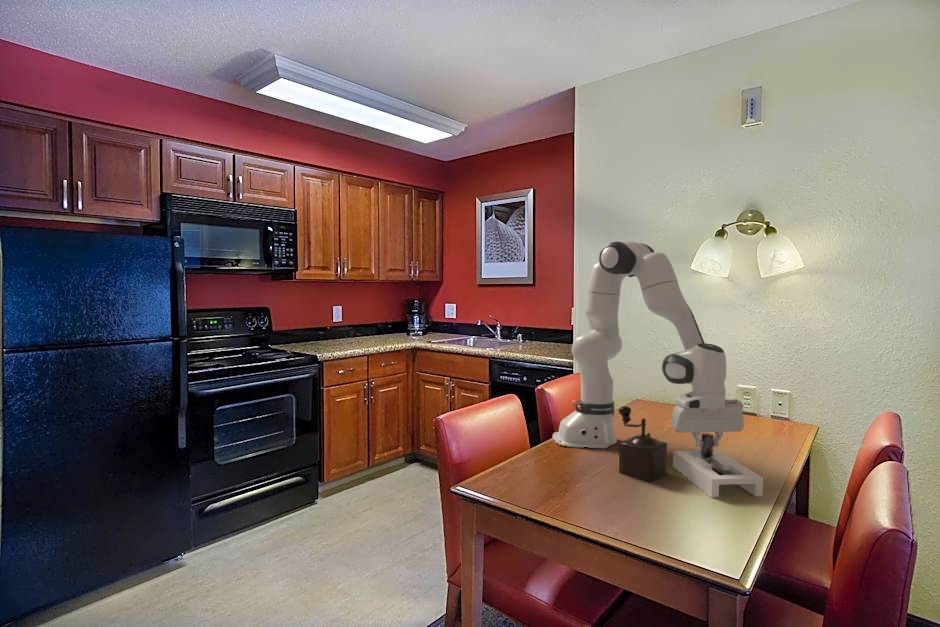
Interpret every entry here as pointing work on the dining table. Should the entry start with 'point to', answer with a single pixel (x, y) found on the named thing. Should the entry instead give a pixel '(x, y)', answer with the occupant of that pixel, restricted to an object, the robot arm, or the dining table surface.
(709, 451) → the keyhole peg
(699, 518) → the dining table surface
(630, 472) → the manual coffee grinder
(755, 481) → the keyhole board
